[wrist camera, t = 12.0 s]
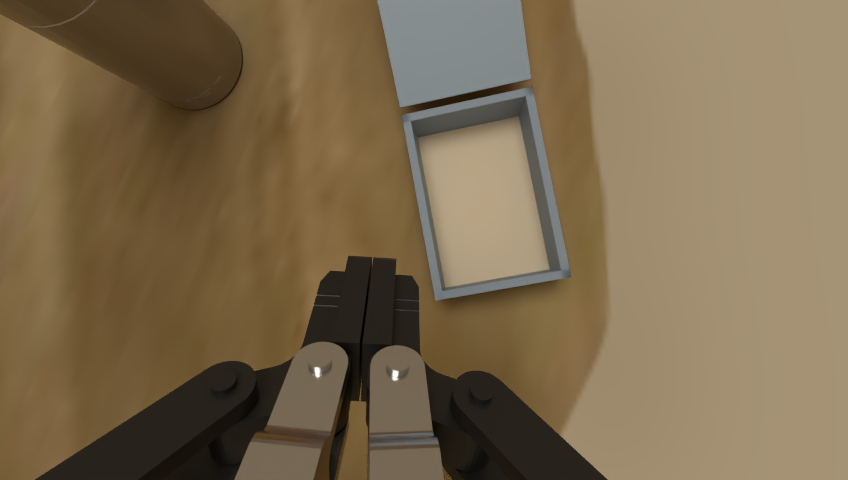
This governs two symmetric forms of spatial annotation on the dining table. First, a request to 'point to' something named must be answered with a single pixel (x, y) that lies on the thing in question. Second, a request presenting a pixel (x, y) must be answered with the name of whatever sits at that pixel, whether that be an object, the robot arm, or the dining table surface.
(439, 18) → the lid
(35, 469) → the dining table surface
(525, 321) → the dining table surface
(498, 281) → the box
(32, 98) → the dining table surface
